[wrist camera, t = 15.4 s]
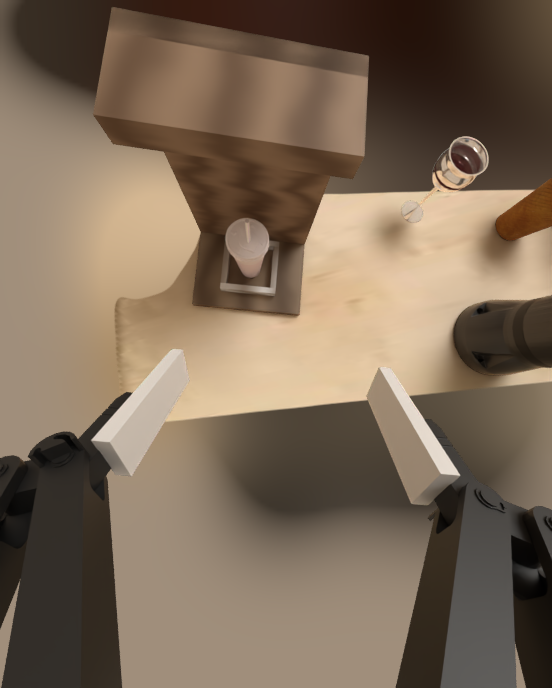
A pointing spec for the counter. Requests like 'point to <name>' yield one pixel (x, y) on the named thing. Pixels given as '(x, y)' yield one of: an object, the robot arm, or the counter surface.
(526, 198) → the disposable coffee cup
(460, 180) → the wineglass
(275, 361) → the counter surface
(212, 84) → the overhang shelf
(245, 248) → the smoothie
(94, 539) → the robot arm
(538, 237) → the counter surface
